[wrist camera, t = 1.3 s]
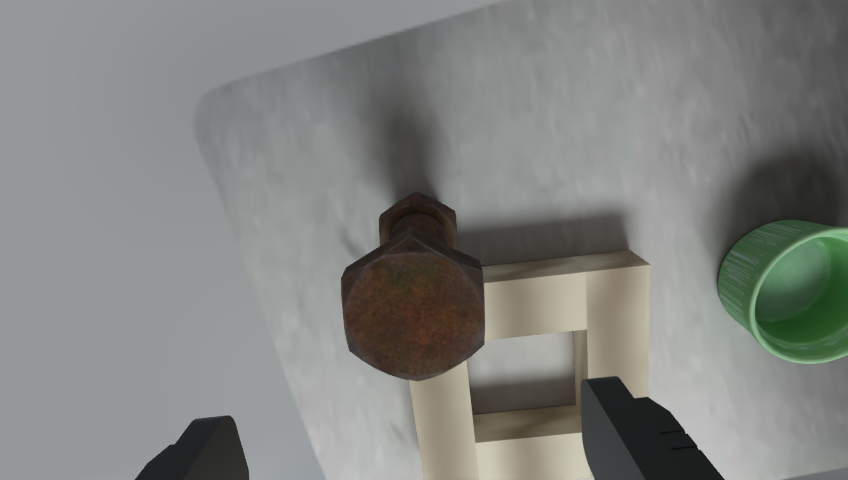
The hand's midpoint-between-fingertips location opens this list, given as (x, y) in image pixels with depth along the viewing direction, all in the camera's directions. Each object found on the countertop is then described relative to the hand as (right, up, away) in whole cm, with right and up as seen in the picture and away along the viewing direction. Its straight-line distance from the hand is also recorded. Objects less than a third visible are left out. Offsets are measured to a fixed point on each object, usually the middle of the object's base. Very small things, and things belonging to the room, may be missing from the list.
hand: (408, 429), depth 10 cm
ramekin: (+25, +2, +21) cm, 33 cm away
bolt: (0, +6, +20) cm, 21 cm away
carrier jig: (+8, -5, +23) cm, 25 cm away
